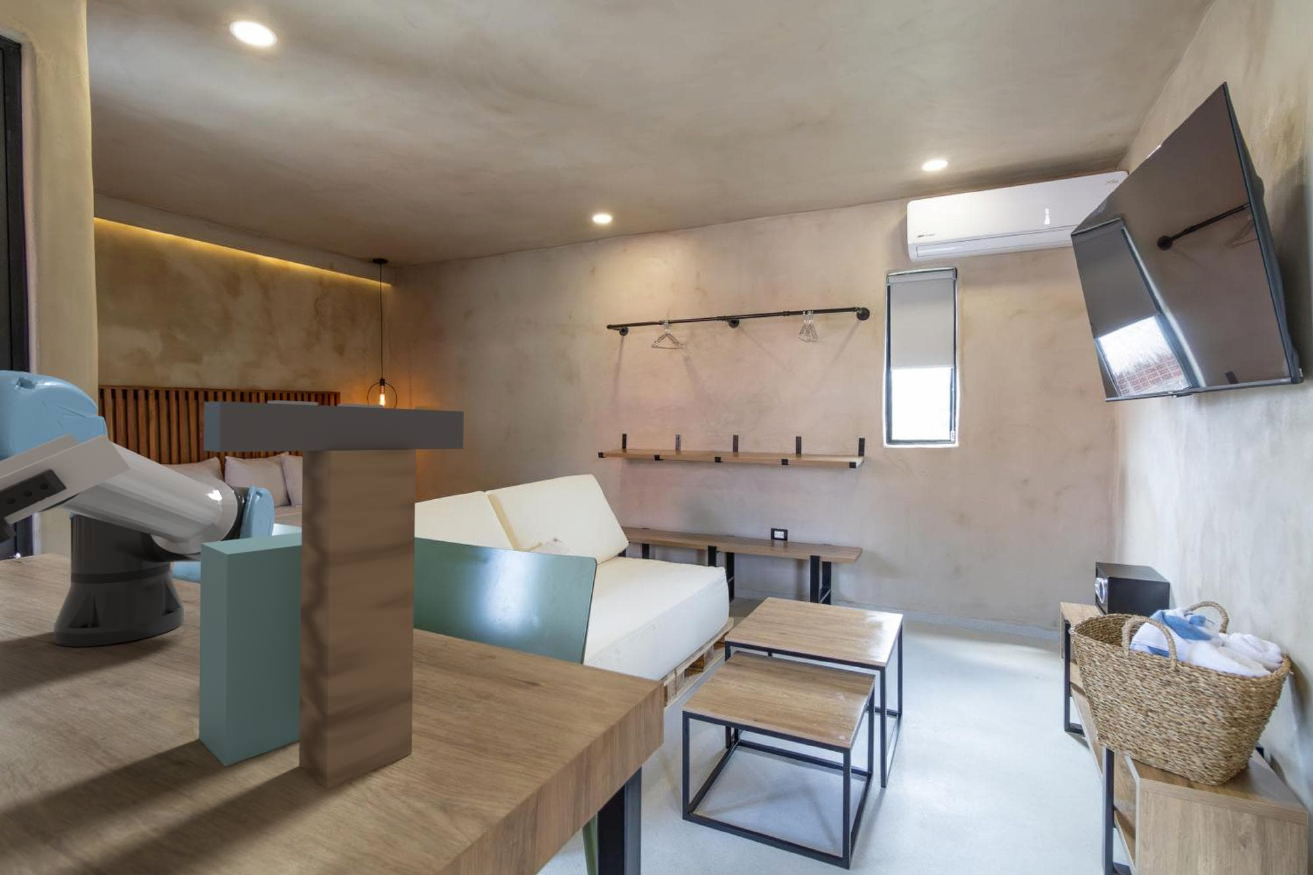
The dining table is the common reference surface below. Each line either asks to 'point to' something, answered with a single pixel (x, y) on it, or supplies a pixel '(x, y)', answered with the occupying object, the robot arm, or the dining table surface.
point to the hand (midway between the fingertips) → (98, 449)
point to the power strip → (327, 427)
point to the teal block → (250, 645)
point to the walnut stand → (356, 611)
